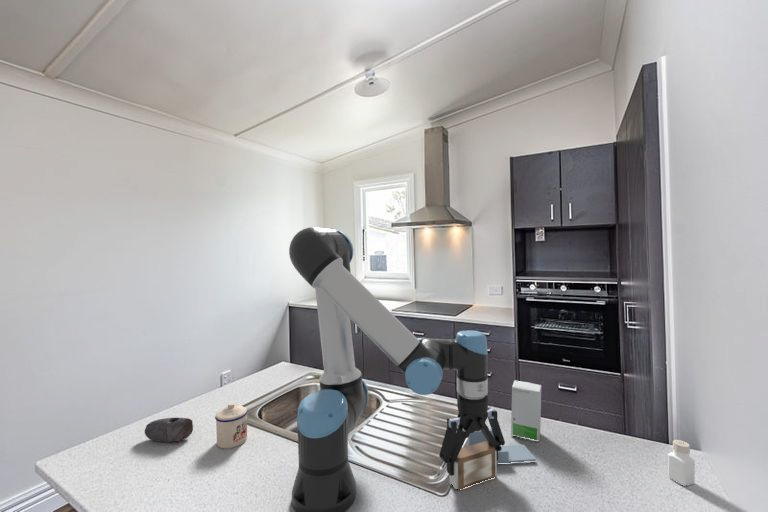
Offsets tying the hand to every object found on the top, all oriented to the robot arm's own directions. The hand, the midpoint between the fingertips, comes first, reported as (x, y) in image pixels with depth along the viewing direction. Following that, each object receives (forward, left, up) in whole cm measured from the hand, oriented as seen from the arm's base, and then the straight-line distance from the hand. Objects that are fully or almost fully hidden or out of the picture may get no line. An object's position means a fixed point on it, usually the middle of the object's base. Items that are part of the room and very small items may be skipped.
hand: (473, 479), depth 89 cm
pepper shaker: (+51, -4, 0) cm, 51 cm away
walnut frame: (0, 0, 0) cm, 0 cm away
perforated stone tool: (-89, +27, 0) cm, 93 cm away
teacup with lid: (-68, +26, 0) cm, 73 cm away
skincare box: (+23, +20, 0) cm, 30 cm away
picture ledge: (+7, +9, 0) cm, 11 cm away
